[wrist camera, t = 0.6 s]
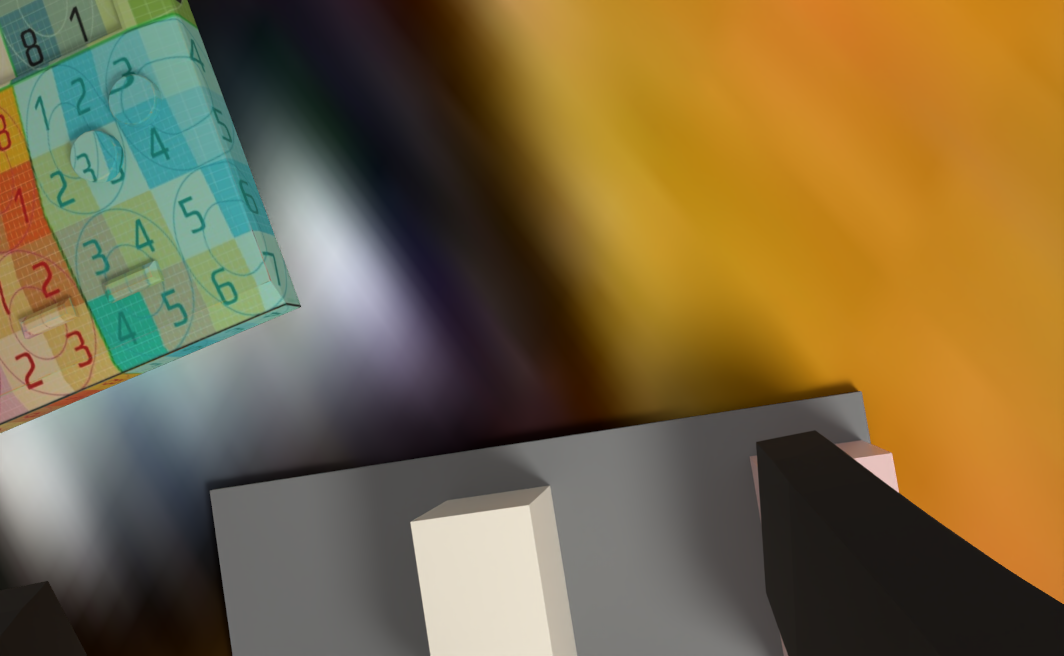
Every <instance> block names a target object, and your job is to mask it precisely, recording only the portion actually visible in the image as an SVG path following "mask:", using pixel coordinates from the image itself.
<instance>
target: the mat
mask: <svg viewBox="0 0 1064 656" xmlns="http://www.w3.org/2000/svg"><path fill="white" fill-rule="evenodd" d="M814 430H816V431H817V432H819V433H820V434H821V435H823V436H824V437H826V438H827V439H828V440H830V441H831V442H832V443H834V444H838V443H845V442H852V441H859V440H863V441H865V442H867V443H870V444H871V442H870V437H869V431H868V425H867V420H866V414H865V408H864V403H863V397H862V392H861V391H857V392H851V393H844V394H838V395H831V396H825V397H818V398H811V399H805V400H798V401H792V402H785V403H779V404H772V405H765V406H759V407H752V408H746V409H739V410H733V411H726V412H719V413H713V414H706V415H700V416H693V417H686V418H680V419H673V420H667V421H660V422H654V423H647V424H640V425H634V426H627V427H621V428H614V429H608V430H601V431H594V432H588V433H581V434H575V435H568V436H562V437H555V438H548V439H542V440H535V441H529V442H522V443H515V444H509V445H502V446H496V447H489V448H483V449H476V450H469V451H463V452H456V453H450V454H443V455H437V456H430V457H423V458H417V459H410V460H404V461H397V462H391V463H384V464H377V465H371V466H364V467H358V468H351V469H345V470H338V471H331V472H325V473H318V474H312V475H305V476H298V477H292V478H285V479H279V480H272V481H266V482H259V483H252V484H246V485H239V486H233V487H226V488H220V489H214V490H210V497H211V504H212V511H213V518H214V525H215V533H216V540H217V547H218V554H219V561H220V568H221V575H222V583H223V590H224V597H225V604H226V611H227V618H228V625H229V633H230V640H231V647H232V654H233V656H430V649H429V642H428V636H427V629H426V622H425V616H424V609H423V603H422V596H421V589H420V583H419V576H418V569H417V563H416V556H415V550H414V543H413V536H412V530H411V523H410V522H411V521H413V520H414V519H416V518H418V517H420V516H421V515H423V514H425V513H426V512H428V511H430V510H432V509H433V508H435V507H437V506H438V505H440V504H442V503H443V502H445V501H447V500H453V499H460V498H467V497H474V496H481V495H487V494H494V493H501V492H508V491H515V490H522V489H529V488H536V487H542V486H549V485H550V488H551V494H552V501H553V507H554V513H555V520H556V526H557V532H558V538H559V545H560V551H561V557H562V563H563V570H564V576H565V582H566V589H567V595H568V601H569V607H570V614H571V620H572V626H573V633H574V639H575V645H576V651H577V656H784V655H783V649H782V643H781V637H780V631H779V629H778V626H777V623H776V620H775V617H774V614H773V611H772V609H771V606H770V603H769V600H768V597H767V594H766V586H765V571H764V556H763V541H762V526H761V520H760V514H759V508H758V503H757V497H756V491H755V485H754V479H753V473H752V467H751V462H750V456H756V455H757V450H756V442H758V441H763V440H768V439H773V438H778V437H783V436H788V435H793V434H798V433H803V432H809V431H814Z"/></svg>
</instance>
